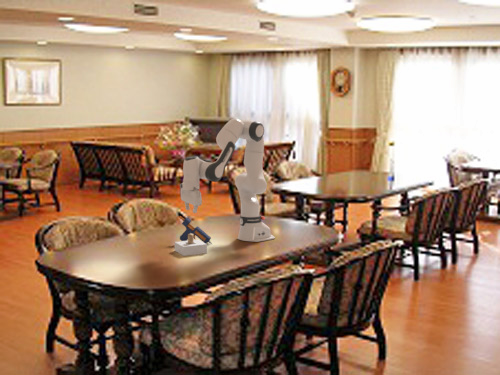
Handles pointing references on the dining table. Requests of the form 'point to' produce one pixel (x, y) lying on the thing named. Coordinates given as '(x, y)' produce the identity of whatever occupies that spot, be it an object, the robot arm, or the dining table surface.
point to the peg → (190, 238)
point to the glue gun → (193, 232)
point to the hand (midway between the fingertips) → (191, 211)
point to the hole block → (190, 247)
